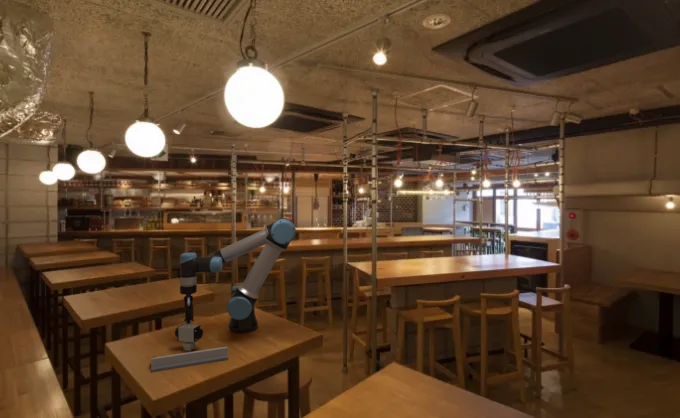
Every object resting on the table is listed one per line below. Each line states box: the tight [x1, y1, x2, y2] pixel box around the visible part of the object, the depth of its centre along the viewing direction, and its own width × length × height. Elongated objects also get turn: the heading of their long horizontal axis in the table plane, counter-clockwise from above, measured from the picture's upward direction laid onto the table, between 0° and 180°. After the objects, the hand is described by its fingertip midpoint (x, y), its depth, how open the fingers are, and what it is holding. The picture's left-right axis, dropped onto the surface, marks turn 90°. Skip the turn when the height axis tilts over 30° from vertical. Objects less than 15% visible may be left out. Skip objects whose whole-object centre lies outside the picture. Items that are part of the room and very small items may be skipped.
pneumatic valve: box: [174, 323, 204, 352], centre depth 176 cm, size 6×12×12 cm, turn 78°
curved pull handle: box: [150, 345, 229, 373], centre depth 164 cm, size 30×10×4 cm, turn 113°
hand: (188, 332), depth 186 cm, fingers closed
